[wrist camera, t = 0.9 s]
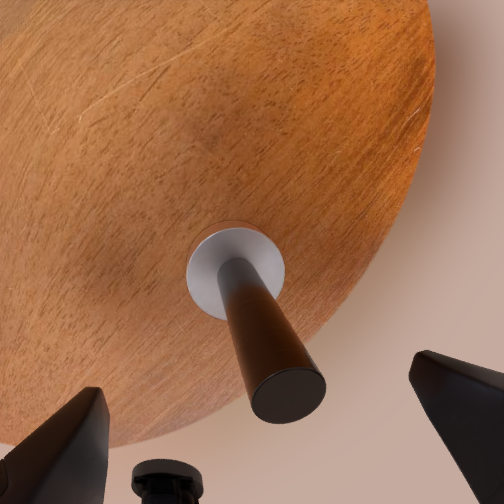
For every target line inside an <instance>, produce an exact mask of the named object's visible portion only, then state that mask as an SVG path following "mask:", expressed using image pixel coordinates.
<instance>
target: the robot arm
mask: <svg viewBox="0 0 504 504" xmlns="http://www.w3.org/2000/svg"><path fill="white" fill-rule="evenodd" d="M409 381H410V383H411V385H412V387H413V388H414V391H415V393H416V395H417V397H418V399H419V401H420V403H421V405H422V407H423V409H424V411H425V412H426V414H427V416H428V418H429V420H430V421H431V423H432V424H433V426H434V428H435V429H436V431H437V432H438V434H439V436H440V437H441V439H442V440H443V442H444V444H445V445H446V447H447V449H448V450H449V452H450V454H451V455H452V457H453V459H454V460H455V462H456V463H457V465H458V467H459V469H460V470H461V472H462V474H463V476H464V477H465V479H466V481H467V482H468V484H469V486H470V488H471V489H472V491H473V493H474V495H475V497H476V498H477V500H478V502H479V503H480V504H504V373H501V372H497V371H494V370H491V369H487V368H484V367H480V366H477V365H474V364H470V363H467V362H464V361H461V360H458V359H454V358H451V357H448V356H445V355H442V354H439V353H436V352H432V351H429V350H424V351H421V352H417V353H416V354H415V356H414V358H413V362H412V365H411V368H410V371H409ZM109 423H110V414H109V409H108V406H107V403H106V400H105V397H104V394H103V391H102V389H101V388H99V387H85V388H84V389H83V390H81V391H80V392H79V393H78V394H77V395H76V396H74V397H73V398H72V399H71V400H70V401H69V402H67V403H66V404H65V405H64V406H63V407H62V408H60V409H59V410H58V411H57V412H56V413H55V414H53V415H52V416H51V417H50V418H49V419H48V420H46V421H45V422H44V423H43V424H42V425H41V426H39V427H38V428H37V429H36V430H35V431H34V432H33V433H31V434H30V435H29V436H28V437H27V438H26V439H24V440H23V441H22V442H21V443H20V444H19V445H17V446H16V447H15V448H14V449H13V450H12V451H11V452H9V453H8V454H7V455H6V456H5V457H4V459H1V460H0V504H103V501H104V492H105V483H106V477H107V468H108V444H109ZM133 482H134V484H135V486H136V488H137V490H138V492H139V494H140V496H141V504H199V500H198V495H197V490H196V486H195V481H194V478H193V477H191V476H181V477H151V476H134V477H133Z"/></svg>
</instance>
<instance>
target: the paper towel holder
mask: <svg viewBox="0 0 504 504" xmlns="http://www.w3.org/2000/svg"><path fill="white" fill-rule="evenodd" d="M284 278H285V266H284V261H283V257H282V255H281V253H280V251H279V249H278V247H277V246H276V245H275V244H274V242H273V241H272V240H271V239H270V238H269V237H268V236H267V235H265V234H264V233H263V232H262V231H261V230H260V229H259V228H257V227H256V226H254V225H252V224H250V223H247V222H243V221H237V220H229V221H222V222H219V223H216V224H213V225H211V226H209V227H208V228H206V229H205V230H203V231H202V232H201V233H200V234H199V235H198V236H197V237H196V239H195V240H194V242H193V243H192V245H191V247H190V249H189V252H188V256H187V265H186V279H187V286H188V290H189V293H190V295H191V297H192V299H193V300H194V302H195V303H196V304H197V306H198V307H199V308H200V309H202V310H203V311H204V312H205V313H207V314H209V315H210V316H212V317H215V318H217V319H221V320H226V321H228V325H229V329H230V333H231V336H232V340H233V344H234V347H235V351H236V355H237V358H238V362H239V365H240V369H241V373H242V376H243V380H244V383H245V387H246V390H247V394H248V397H249V400H250V404H251V407H252V410H253V412H254V413H255V415H256V416H257V417H258V418H260V419H261V420H263V421H265V422H268V423H272V424H286V423H291V422H295V421H297V420H300V419H302V418H304V417H306V416H307V415H309V414H310V413H312V412H313V411H314V410H315V409H316V408H317V407H318V406H319V405H320V403H321V402H322V400H323V398H324V396H325V393H326V382H325V379H324V377H323V375H322V374H321V372H320V371H319V369H318V368H317V366H316V364H315V363H314V361H313V360H312V358H311V356H310V355H309V353H308V352H307V350H306V349H305V347H304V345H303V344H302V342H301V341H300V339H299V337H298V336H297V334H296V333H295V331H294V329H293V328H292V326H291V325H290V323H289V321H288V320H287V318H286V317H285V315H284V314H283V312H282V310H281V309H280V307H279V306H278V304H277V302H276V301H275V300H276V298H277V297H278V295H279V293H280V292H281V289H282V287H283V283H284Z"/></svg>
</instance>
